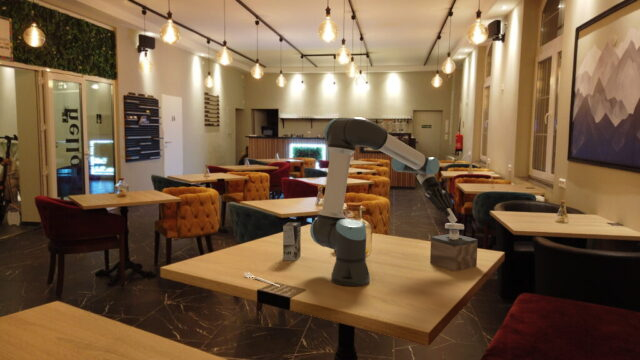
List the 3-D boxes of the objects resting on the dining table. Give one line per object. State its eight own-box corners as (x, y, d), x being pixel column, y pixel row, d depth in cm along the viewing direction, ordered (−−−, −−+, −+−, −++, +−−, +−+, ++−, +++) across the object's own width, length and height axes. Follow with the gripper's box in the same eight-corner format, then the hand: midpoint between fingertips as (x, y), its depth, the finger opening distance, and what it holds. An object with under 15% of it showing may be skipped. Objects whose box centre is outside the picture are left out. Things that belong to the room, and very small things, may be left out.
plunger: (454, 256, 196) (455, 227, 195) (440, 252, 203) (441, 224, 202) (466, 253, 200) (468, 225, 199) (452, 249, 207) (453, 222, 206)
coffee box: (296, 261, 206) (296, 226, 204) (282, 260, 207) (282, 225, 205) (301, 255, 215) (301, 222, 213) (288, 255, 216) (288, 221, 214)
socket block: (454, 271, 192) (455, 243, 191) (430, 262, 204) (431, 236, 203) (476, 266, 200) (477, 239, 198) (452, 258, 212) (453, 233, 210)
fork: (277, 289, 170) (277, 284, 170) (242, 277, 183) (242, 272, 183) (283, 287, 173) (283, 282, 173) (248, 275, 186) (248, 271, 185)
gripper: (434, 185, 219) (459, 225, 206) (413, 186, 212) (439, 228, 199) (442, 175, 214) (469, 215, 201) (422, 176, 207) (448, 218, 194)
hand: (454, 221), depth 200 cm, fingers closed
